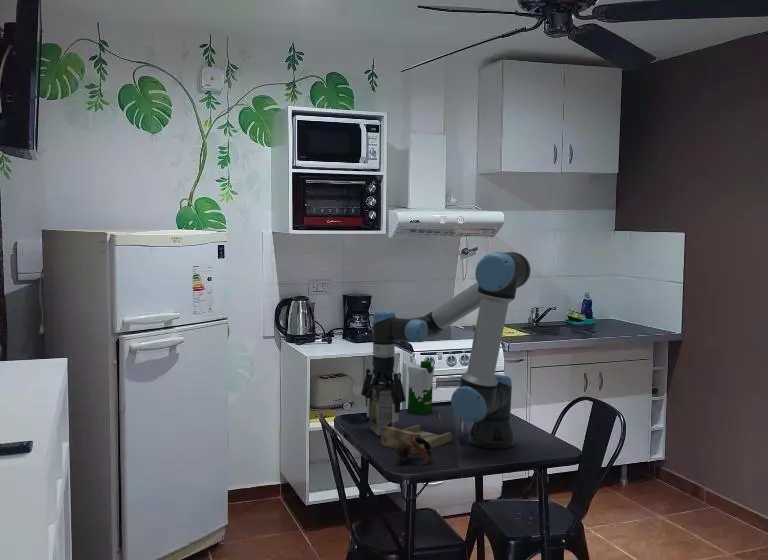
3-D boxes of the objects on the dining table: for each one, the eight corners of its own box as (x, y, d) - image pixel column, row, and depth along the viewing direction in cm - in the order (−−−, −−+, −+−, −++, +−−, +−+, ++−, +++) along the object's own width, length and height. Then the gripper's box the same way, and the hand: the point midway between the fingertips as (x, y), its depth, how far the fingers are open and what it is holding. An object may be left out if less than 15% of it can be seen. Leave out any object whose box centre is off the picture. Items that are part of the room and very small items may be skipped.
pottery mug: (409, 455, 225) (423, 434, 223) (427, 475, 219) (441, 454, 217) (384, 452, 217) (398, 431, 215) (401, 474, 210) (416, 452, 208)
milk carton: (423, 416, 272) (425, 364, 271) (403, 412, 277) (405, 361, 276) (435, 411, 279) (437, 361, 278) (415, 408, 284) (417, 358, 283)
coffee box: (369, 428, 251) (370, 383, 250) (387, 427, 253) (387, 382, 252) (377, 435, 242) (377, 388, 241) (395, 434, 244) (396, 387, 243)
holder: (451, 441, 240) (452, 423, 239) (416, 454, 224) (416, 435, 224) (417, 432, 249) (417, 415, 248) (380, 444, 233) (380, 426, 233)
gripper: (351, 353, 250) (350, 415, 251) (403, 361, 235) (402, 427, 237) (365, 350, 256) (364, 411, 257) (416, 358, 241) (415, 422, 243)
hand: (382, 418), depth 247 cm, fingers closed on coffee box, 11 cm apart
